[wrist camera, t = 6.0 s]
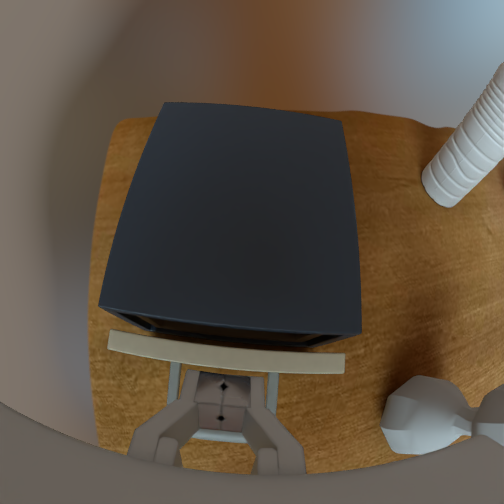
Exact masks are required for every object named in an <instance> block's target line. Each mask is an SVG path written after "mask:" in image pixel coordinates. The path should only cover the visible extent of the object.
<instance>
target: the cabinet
mask: <svg viewBox="0 0 504 504" xmlns="http://www.w3.org/2000/svg"><path fill="white" fill-rule="evenodd" d="M98 306H99V307H100V308H102V309H104V310H105V311H107V312H109V313H111V314H113V315H115V316H117V317H119V318H121V319H123V320H125V321H127V322H129V323H131V324H133V325H135V326H137V327H139V328H141V329H143V330H146V331H152V332H158V333H164V334H171V335H178V336H185V337H192V338H200V339H208V340H217V341H226V342H236V343H247V344H259V345H273V346H290V347H317V346H321V345H325V344H328V343H332V342H336V341H339V340H343V339H346V338H349V337H353V336H356V335H359V334H361V332H362V316H361V280H360V261H359V247H358V235H357V224H356V214H355V205H354V196H353V189H352V181H351V174H350V167H349V161H348V155H347V149H346V143H345V137H344V132H343V127H342V122H341V121H339V120H334V119H329V118H324V117H319V116H314V115H308V114H302V113H296V112H290V111H283V110H276V109H268V108H260V107H249V106H239V105H227V104H211V103H184V102H180V103H179V102H175V103H174V102H165V103H164V104H163V107H162V109H161V111H160V113H159V115H158V118H157V120H156V122H155V124H154V127H153V129H152V131H151V134H150V136H149V138H148V141H147V143H146V146H145V148H144V151H143V153H142V156H141V158H140V161H139V164H138V166H137V169H136V172H135V174H134V177H133V180H132V183H131V186H130V188H129V191H128V194H127V197H126V200H125V203H124V207H123V210H122V213H121V216H120V219H119V223H118V226H117V230H116V233H115V237H114V240H113V244H112V248H111V251H110V255H109V259H108V263H107V267H106V272H105V276H104V280H103V285H102V290H101V294H100V299H99V305H98ZM136 315H137V316H136ZM138 316H143V317H149V318H155V319H162V320H169V321H176V322H183V323H190V324H198V325H206V326H215V327H224V328H234V329H244V330H256V331H268V332H282V333H299V334H320V335H321V336H318V337H315V338H313V339H310V340H307V341H304V342H288V341H273V340H259V339H247V338H236V337H226V336H217V335H208V334H200V333H192V332H185V331H178V330H171V329H164V328H158V327H155V326H153V325H151V324H150V323H148V322H146V321H145V320H143V319H141V318H140V317H138Z"/></svg>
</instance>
